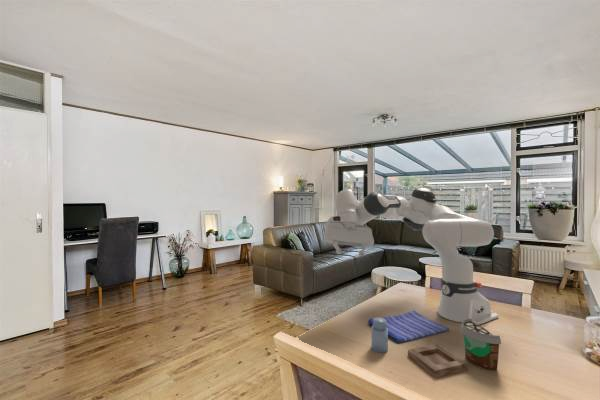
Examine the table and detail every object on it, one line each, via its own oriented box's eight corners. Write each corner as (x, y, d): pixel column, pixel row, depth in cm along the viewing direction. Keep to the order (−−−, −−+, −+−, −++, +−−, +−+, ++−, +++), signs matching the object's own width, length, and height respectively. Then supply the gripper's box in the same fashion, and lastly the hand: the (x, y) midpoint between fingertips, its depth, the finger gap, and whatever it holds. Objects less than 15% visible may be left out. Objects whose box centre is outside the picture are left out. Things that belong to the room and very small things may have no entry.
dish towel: (365, 325, 109) (365, 317, 109) (413, 314, 119) (413, 307, 119) (397, 346, 94) (397, 337, 94) (449, 332, 103) (449, 324, 103)
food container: (451, 350, 90) (451, 318, 89) (470, 349, 90) (470, 317, 90) (479, 374, 77) (479, 337, 77) (501, 373, 78) (501, 336, 78)
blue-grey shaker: (381, 343, 94) (381, 316, 94) (391, 351, 90) (391, 322, 89) (368, 345, 93) (368, 318, 93) (377, 353, 88) (377, 324, 88)
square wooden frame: (437, 349, 90) (437, 344, 90) (467, 369, 80) (467, 363, 80) (407, 356, 87) (407, 350, 87) (435, 377, 76) (435, 370, 76)
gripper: (367, 229, 124) (371, 260, 116) (322, 224, 120) (323, 255, 112) (374, 222, 119) (379, 254, 111) (326, 216, 115) (328, 248, 107)
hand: (350, 254), depth 112 cm, fingers open, 8 cm apart
